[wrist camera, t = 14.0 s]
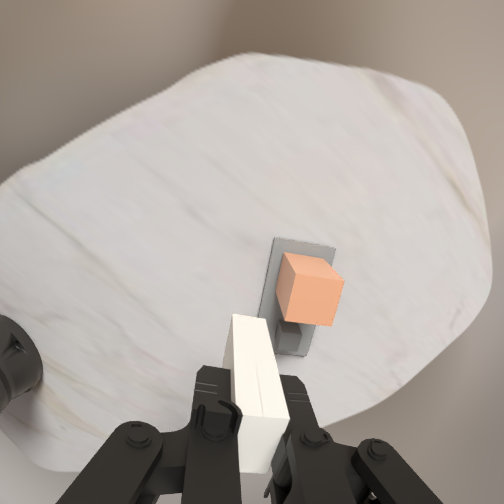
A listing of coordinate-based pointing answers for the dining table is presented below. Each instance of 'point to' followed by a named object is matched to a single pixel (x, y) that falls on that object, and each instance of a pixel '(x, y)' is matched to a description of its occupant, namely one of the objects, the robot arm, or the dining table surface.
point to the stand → (280, 331)
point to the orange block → (308, 289)
